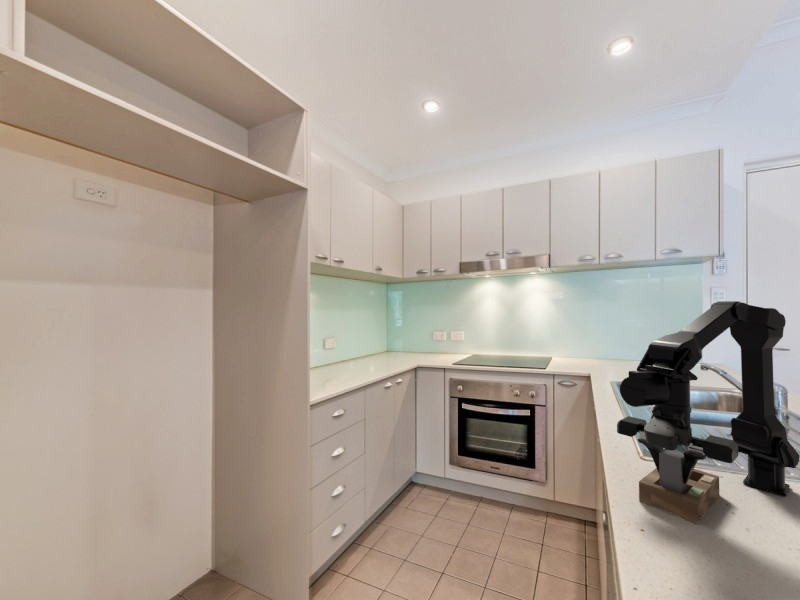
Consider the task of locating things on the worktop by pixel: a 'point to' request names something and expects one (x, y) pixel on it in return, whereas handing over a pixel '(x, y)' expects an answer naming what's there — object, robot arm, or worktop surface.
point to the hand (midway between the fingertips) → (673, 479)
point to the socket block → (681, 495)
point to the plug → (672, 471)
